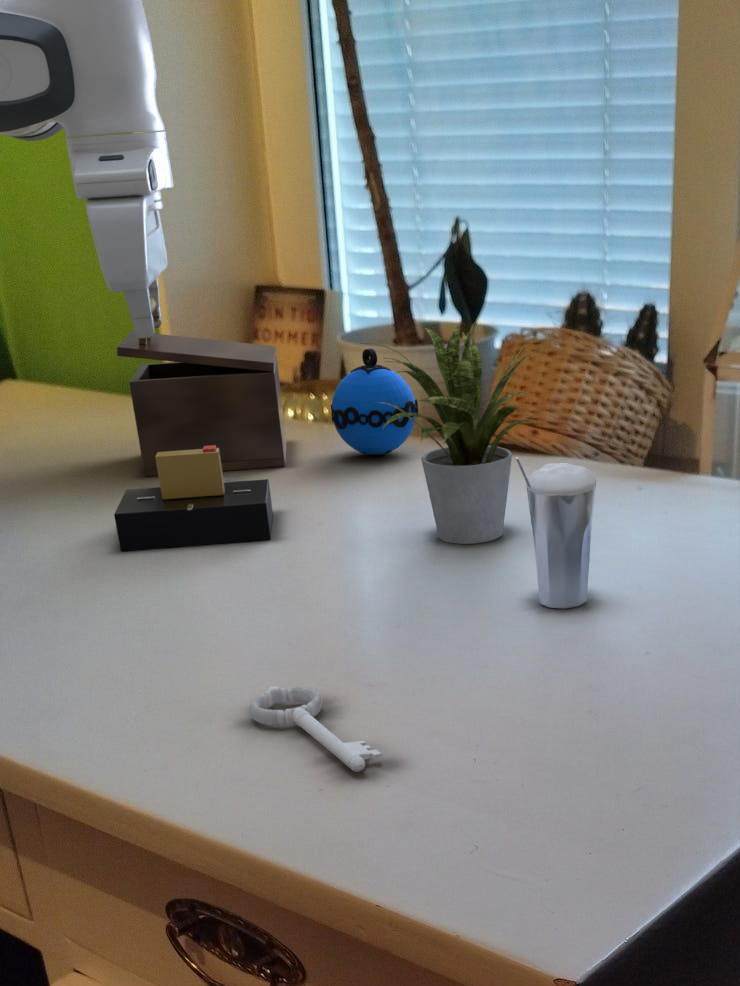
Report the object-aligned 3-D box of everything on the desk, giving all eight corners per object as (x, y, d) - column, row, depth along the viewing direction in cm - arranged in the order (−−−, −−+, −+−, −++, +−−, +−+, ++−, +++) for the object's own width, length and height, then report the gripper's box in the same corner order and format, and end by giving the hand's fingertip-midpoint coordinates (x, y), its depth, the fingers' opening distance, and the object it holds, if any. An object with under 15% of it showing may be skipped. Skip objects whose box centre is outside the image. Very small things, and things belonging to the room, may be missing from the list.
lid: (117, 356, 122) (116, 303, 120) (130, 339, 131) (129, 290, 129) (273, 371, 124) (275, 319, 122) (275, 354, 134) (277, 306, 131)
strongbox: (144, 476, 128) (128, 382, 123) (155, 452, 137) (141, 363, 133) (285, 466, 129) (274, 372, 124) (286, 443, 138) (276, 354, 134)
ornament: (317, 456, 132) (306, 351, 127) (384, 441, 137) (376, 339, 132) (370, 469, 126) (361, 359, 121) (438, 452, 131) (432, 346, 126)
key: (304, 691, 77) (237, 707, 76) (303, 677, 77) (235, 692, 75) (397, 765, 68) (323, 785, 66) (396, 749, 68) (321, 769, 66)
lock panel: (119, 553, 105) (112, 514, 103) (133, 522, 113) (126, 485, 111) (270, 541, 106) (265, 502, 104) (273, 512, 114) (268, 475, 112)
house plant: (344, 526, 109) (323, 315, 101) (491, 499, 114) (483, 297, 106) (416, 569, 98) (399, 336, 90) (576, 537, 103) (574, 314, 95)
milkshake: (508, 598, 91) (503, 451, 86) (579, 587, 92) (578, 441, 87) (534, 618, 87) (530, 465, 82) (607, 605, 89) (607, 454, 84)
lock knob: (162, 500, 107) (154, 453, 105) (164, 495, 108) (156, 448, 107) (224, 495, 107) (217, 448, 106) (225, 490, 109) (218, 444, 107)
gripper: (102, 169, 128) (129, 320, 135) (69, 177, 111) (102, 350, 117) (167, 164, 129) (190, 315, 136) (145, 172, 111) (173, 345, 118)
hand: (149, 332), depth 126 cm, fingers closed on lid, 5 cm apart
